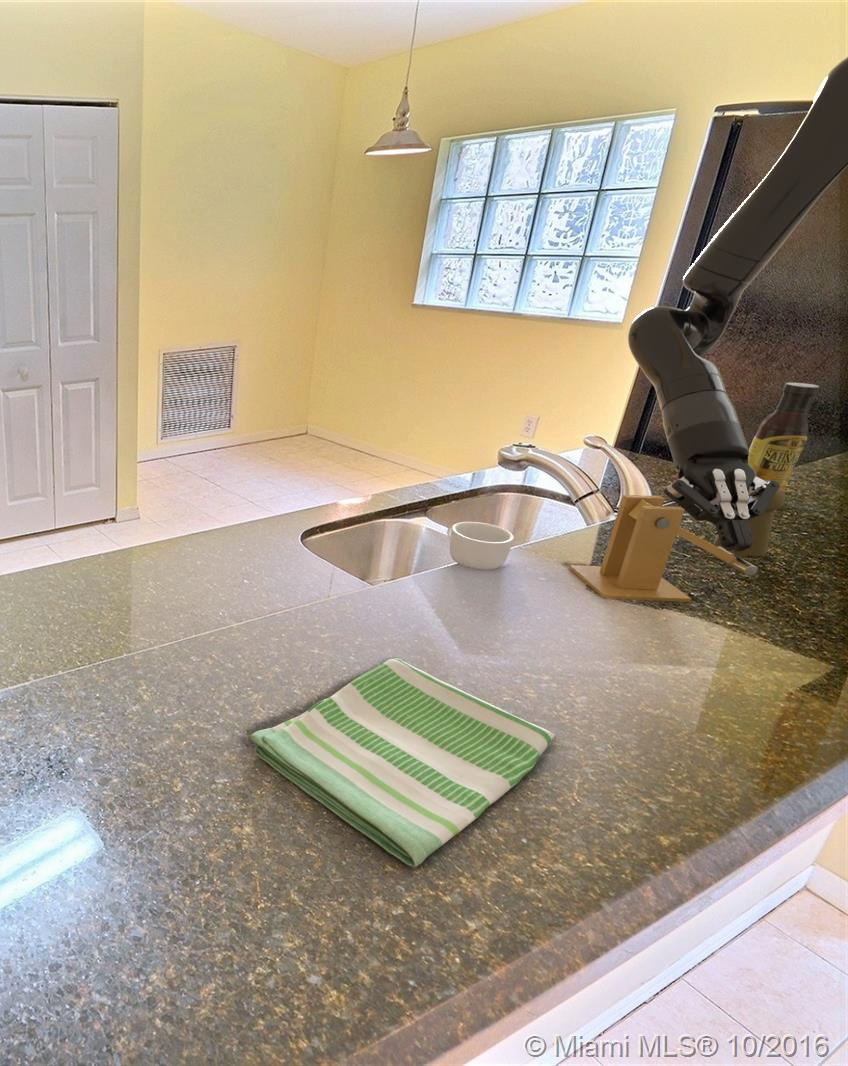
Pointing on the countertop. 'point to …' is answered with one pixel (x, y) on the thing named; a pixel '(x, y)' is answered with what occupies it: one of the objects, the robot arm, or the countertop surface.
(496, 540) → the teacup
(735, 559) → the tap lever
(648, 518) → the bracket
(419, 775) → the dish towel
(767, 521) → the cork
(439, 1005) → the countertop surface
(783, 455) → the sauce bottle
